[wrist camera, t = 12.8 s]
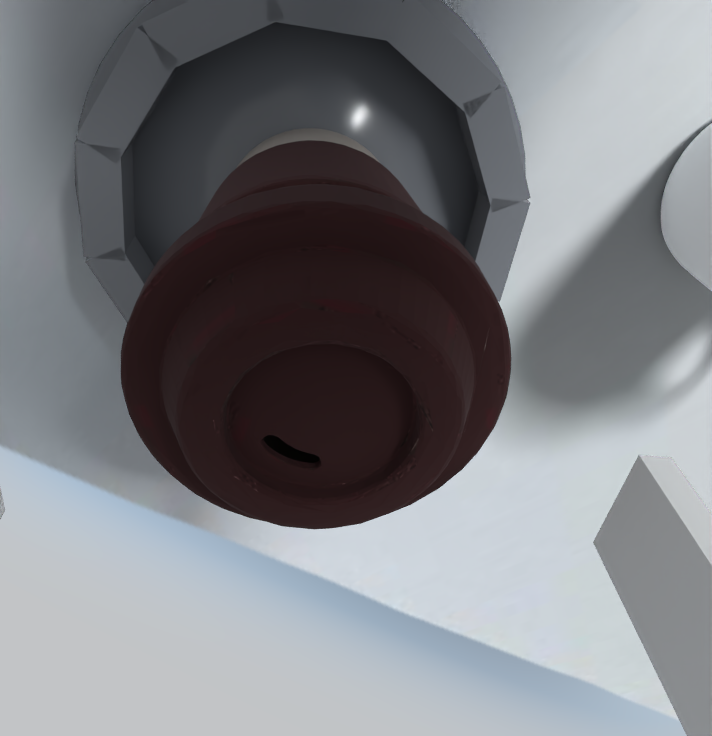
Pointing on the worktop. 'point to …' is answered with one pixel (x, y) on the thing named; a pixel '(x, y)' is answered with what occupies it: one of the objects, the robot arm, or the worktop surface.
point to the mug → (691, 209)
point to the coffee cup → (315, 342)
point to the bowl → (292, 120)
